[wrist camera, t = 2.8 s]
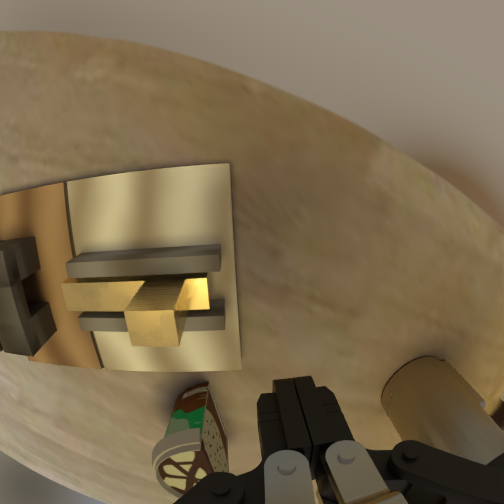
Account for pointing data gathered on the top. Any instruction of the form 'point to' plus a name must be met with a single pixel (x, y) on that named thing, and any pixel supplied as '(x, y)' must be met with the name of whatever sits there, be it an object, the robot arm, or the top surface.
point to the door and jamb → (118, 266)
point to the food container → (191, 442)
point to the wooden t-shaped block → (143, 302)
